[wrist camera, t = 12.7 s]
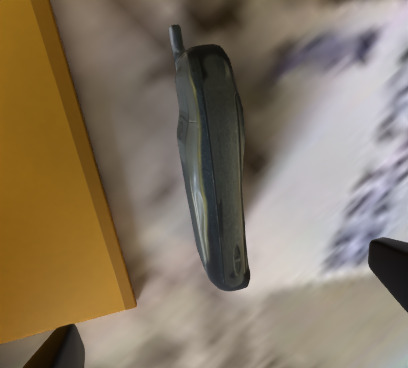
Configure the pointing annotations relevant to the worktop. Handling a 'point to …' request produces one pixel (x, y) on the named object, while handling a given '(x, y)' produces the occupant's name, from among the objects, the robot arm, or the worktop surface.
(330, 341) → the worktop surface
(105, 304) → the yellow flat slab
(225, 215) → the mobile phone
